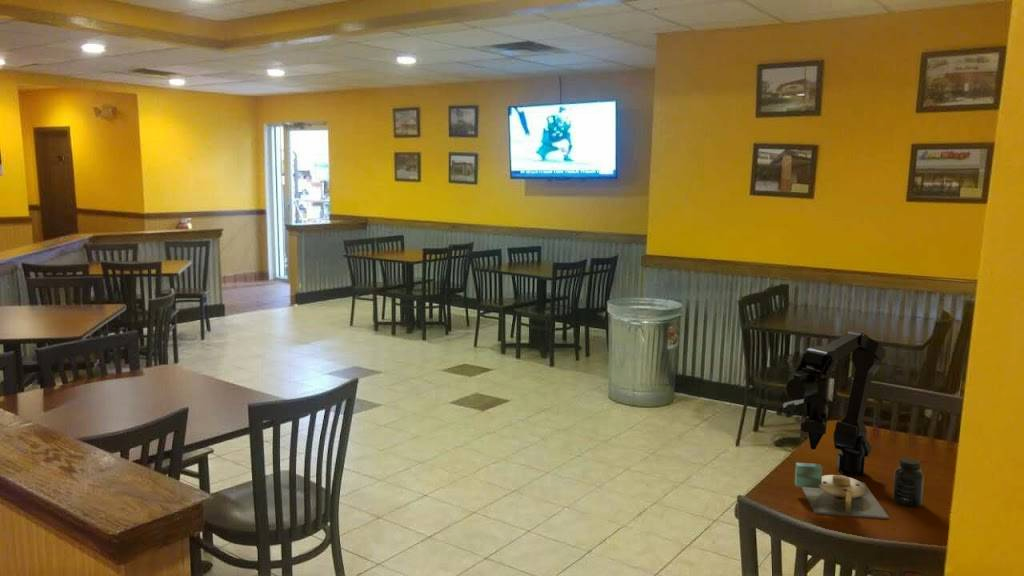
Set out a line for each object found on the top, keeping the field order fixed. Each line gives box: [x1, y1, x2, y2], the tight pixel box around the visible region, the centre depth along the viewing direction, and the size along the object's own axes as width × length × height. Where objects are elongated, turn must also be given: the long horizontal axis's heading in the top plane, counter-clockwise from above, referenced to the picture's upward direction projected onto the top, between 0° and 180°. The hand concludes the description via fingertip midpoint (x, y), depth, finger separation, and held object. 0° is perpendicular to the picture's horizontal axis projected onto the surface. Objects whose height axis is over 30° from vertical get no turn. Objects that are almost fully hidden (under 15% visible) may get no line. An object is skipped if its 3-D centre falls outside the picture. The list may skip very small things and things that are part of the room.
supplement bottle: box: [892, 457, 925, 509], centre depth 196 cm, size 7×7×12 cm
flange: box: [794, 462, 866, 498], centre depth 199 cm, size 18×12×6 cm
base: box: [800, 481, 890, 520], centre depth 199 cm, size 18×22×6 cm
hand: (813, 447), depth 204 cm, fingers open, 3 cm apart
